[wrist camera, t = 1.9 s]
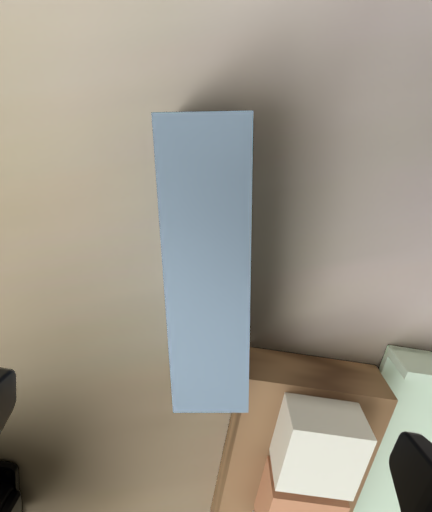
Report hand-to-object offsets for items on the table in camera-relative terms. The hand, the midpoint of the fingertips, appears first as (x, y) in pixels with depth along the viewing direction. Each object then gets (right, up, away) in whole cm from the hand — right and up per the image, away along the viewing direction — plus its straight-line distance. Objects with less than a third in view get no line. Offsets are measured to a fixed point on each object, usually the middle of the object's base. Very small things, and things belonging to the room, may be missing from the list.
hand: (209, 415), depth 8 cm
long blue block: (0, +4, +12) cm, 12 cm away
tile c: (+5, -6, +12) cm, 14 cm away
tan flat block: (+5, -9, +16) cm, 19 cm away
